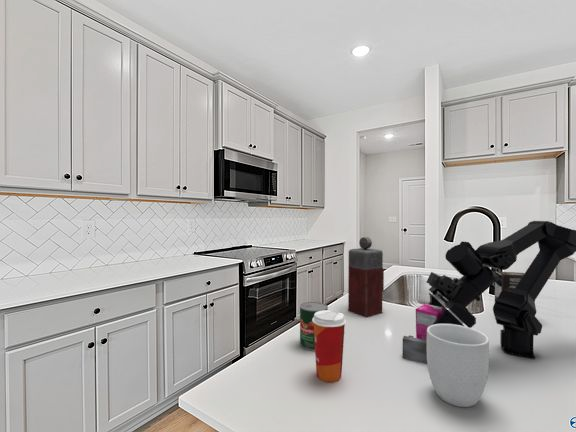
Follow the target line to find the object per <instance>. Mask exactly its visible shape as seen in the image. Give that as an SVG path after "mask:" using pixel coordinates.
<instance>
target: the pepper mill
mask: <svg viewBox="0 0 576 432" xmlns="http://www.w3.org/2000/svg"><path fill="white" fill-rule="evenodd" d="M372 241H373V240H372V239H371V237H369V236H365V237H360V239H359V241H358V242H359V246H360V248H350V249H349V250H348V281H347V283H348V293H347V294H348V296H347V297H348V300H347V301H348V303H347V307H348V309H347V310H348V312H351V313H352V314H356V315H358V316H361V317H363V318H366V319H367V318H370V317H374V316H377V315H381V314H383V292H384V291H385V290H384V289H385V287H384V286H385V284H384V282H385V279H384V278H385V273H384V267H383V266H384V265H383V262H384V260H383V258H384V257H383V256H384V253H383V250H381V249H378V248H377V249H376V248H371V247H372V245H373V244H372V243H373V242H372Z"/></svg>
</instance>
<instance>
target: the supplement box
mask: <svg viewBox="0 0 576 432" xmlns="http://www.w3.org/2000/svg"><path fill="white" fill-rule="evenodd" d="M428 304H429V303H428ZM428 304H427V303H424V304H422V305H420V306H418V307H417V308H415V334H416V335H415V338H418V339H423V340H427V328H428V327H429V326H431V325H432V324H433V323H434V322H435V321H436V320H437V319H438V317H439V316H440V315H441V314H442V307H437V306H432V305H428Z"/></svg>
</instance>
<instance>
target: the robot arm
mask: <svg viewBox="0 0 576 432" xmlns="http://www.w3.org/2000/svg"><path fill="white" fill-rule="evenodd" d="M536 244H538V249H539V251H538V253H537V254H536V256H535V257H534V259H533V260H532V262H531V263H530V265H529V266H528V268H526V271H525V272H524V273H525V274H524V275H523V277H522V278H521V280H520V281H519V283H518V284H517V286H516V287H515V289H514V290H512V291H506V290H503V291H501V293H500V295H499V296H498V298H497V299H496V300H495V299H494V304H493V306H492V311H493V315H494V319H495V323H496V324H497V325H500V326H502V329H500V334H499V335H500V336H499V338H500V339H499V342H500V343H499V344H500V347H501V348H502V350H503V353H504V354H510V355H514V356H519V357H520V356H521V357H525V358H530V359H536V355H535V353H534V337H535V336H538V335H539V334H541V333H542V329H543V324H542V323H541V322H540V320H539V319H538V318H537V316H536V315H537V306H536V299H537V298H538V297H539V295H540V293H541V291H542V290H543V289H544V287H545V286H546V284H547V283H548V281H549V280H550V277H551V276H552V274H553V273H554V271H555V270H556V269H557V267H558V265H559V263H561V261H562V260H564V259H566V258H568V257H571V256H573V255H574V254H575V253H576V229H572V228H568V227H564V226H561V225H559V224H556V223H554V222H551V221H549V220H533V221H529V222H528V223H527V225H525V226H524V227H521V228H520V229H518V230H517V231H515V232H513V233H512V234H510V235H508V236H507V237H505V238H503V239H500V240H496V241H491V242H486V243H484V244H481V245H479V246H478V247H477V248H476V249H475V248H474V247H473V245H472V244H471V243H470V242H469V241H460V243H459V244H455V245H454V246H453V247H451V248H449V249H447V251H446V253H445V260H446V261H447V262H448V263H449V264H450V265H451V266H452V267H453V268H454V269H455V270H456V271H457V272H458V273H459V275H461V277H460V278H457V277H455V278H453V279H452V278H451V277H450V276H447V275H445V274H443V275H439V274H437V273H435V272H433V271H431V272H430V274H429V276H428V278H427V280H426V282H425V283H427V284H428V285H429V286H430V287H429V288H428V291H429V293H428V295H429V303H428V305H432V306H437V307H442V314H441V315H440V316H439V317H438V319H437V320H436V321H435V322H434V323H433V324H432V325H434V324H455V325H461V326H465V327H469V328H473V327H474V326H475V325H476V324H477V318H476V317H475V316H474V315H473V314H472V313H471V312H470V311H469V310H468V308H467V307H469V305H471V304H472V303H473V302H475V301H476V302H480V301H481V299H482V298H481V297H480V296H481V295H482V294H483V293H484V292H485V291H487V290H488V289H489V288H490V287H491V286H492V285H493V284H494V285H495V284H497V285H498V286H500V287H501V286H502V276H501V275H500V274H498V273H496V272H495V271H493V269H494V270H495V269H497V270H502V271H506V270H508V269H509V268H510V267H511V266H512V265H514V264H515V262H517V258H518V255H519V254H520V253H523V252H525V250H527V249H529V248H531V247H532V246H533V245H536Z"/></svg>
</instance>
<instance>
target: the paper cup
mask: <svg viewBox="0 0 576 432" xmlns="http://www.w3.org/2000/svg"><path fill="white" fill-rule="evenodd" d="M312 321H313V323H314V338H315V351H314V353H315V354H314V355H315V369H316V371H315V372H316V377H317V378H318V379H319V380H320V381H321V382H326V383H336V382H339V381H340V380H341V379H342V373H343V359H344V358H343V357H344V343H345V342H344V340H345V328H346V327H345V325H346V324H347V320H346V318H345V315H344V314H343V313H342V312H338V311H335V310H332V309H328V310H323V311H318V312H316V313H315V314H314V317H313V319H312Z"/></svg>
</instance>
